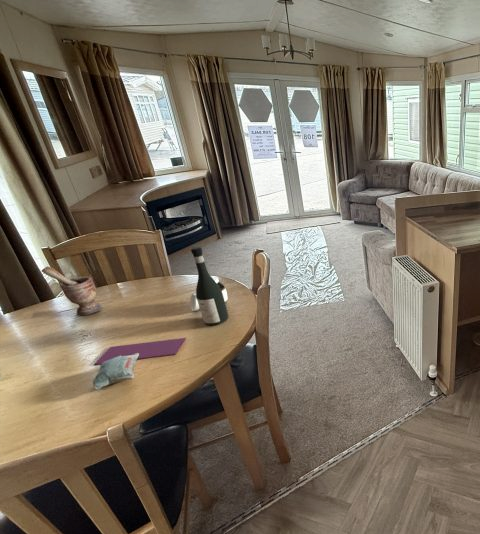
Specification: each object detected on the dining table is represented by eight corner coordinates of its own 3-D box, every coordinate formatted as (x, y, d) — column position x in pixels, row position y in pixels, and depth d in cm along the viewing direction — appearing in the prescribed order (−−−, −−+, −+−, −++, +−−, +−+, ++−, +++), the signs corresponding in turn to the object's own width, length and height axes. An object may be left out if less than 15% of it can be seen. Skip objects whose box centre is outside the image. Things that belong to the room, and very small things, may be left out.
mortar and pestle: (62, 322, 126) (37, 274, 117) (64, 312, 131) (40, 265, 123) (104, 311, 133) (83, 265, 124) (104, 303, 138) (84, 258, 130)
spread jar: (232, 302, 142) (226, 277, 137) (209, 316, 132) (202, 290, 127) (209, 297, 145) (202, 273, 140) (185, 311, 135) (176, 285, 130)
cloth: (93, 365, 105) (93, 364, 105) (110, 347, 113) (110, 346, 113) (175, 354, 111) (175, 353, 111) (186, 338, 119) (185, 337, 119)
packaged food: (141, 359, 108) (136, 347, 106) (135, 383, 99) (129, 370, 97) (105, 369, 104) (99, 356, 102) (96, 394, 95) (88, 381, 93)
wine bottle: (217, 328, 125) (195, 253, 112) (199, 324, 127) (175, 250, 114) (233, 316, 132) (214, 245, 120) (216, 313, 134) (196, 242, 121)
